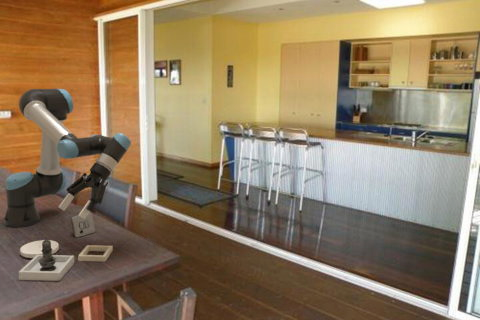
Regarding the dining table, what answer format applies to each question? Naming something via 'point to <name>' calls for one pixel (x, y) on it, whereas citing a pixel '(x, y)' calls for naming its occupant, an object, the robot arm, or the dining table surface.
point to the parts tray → (34, 273)
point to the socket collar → (85, 257)
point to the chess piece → (47, 257)
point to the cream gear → (36, 248)
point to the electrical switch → (82, 225)
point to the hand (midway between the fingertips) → (71, 213)
